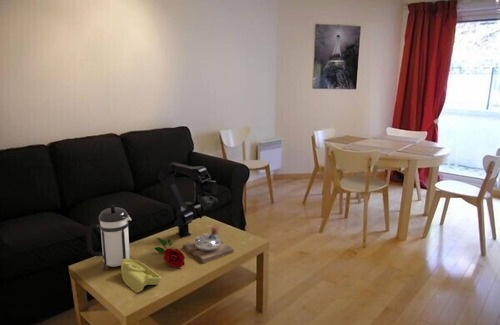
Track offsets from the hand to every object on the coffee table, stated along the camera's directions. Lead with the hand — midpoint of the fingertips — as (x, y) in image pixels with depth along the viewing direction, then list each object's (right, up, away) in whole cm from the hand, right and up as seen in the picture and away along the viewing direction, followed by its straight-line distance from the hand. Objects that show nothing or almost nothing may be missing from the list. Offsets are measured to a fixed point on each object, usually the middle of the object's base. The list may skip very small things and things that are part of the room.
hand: (200, 218), depth 202 cm
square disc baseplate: (+5, -15, -8) cm, 18 cm away
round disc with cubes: (+6, -13, -6) cm, 15 cm away
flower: (-15, -17, -15) cm, 27 cm away
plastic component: (-22, -22, -36) cm, 48 cm away
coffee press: (-38, -19, -23) cm, 48 cm away
